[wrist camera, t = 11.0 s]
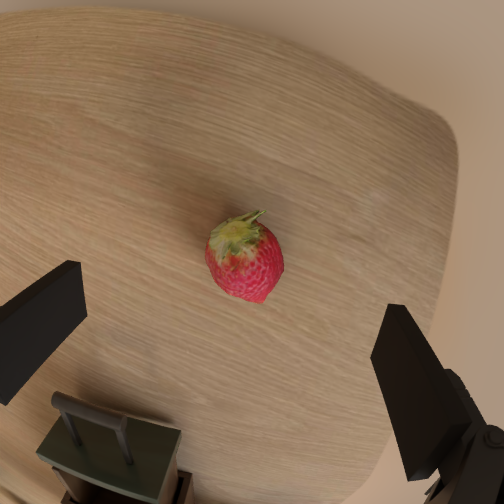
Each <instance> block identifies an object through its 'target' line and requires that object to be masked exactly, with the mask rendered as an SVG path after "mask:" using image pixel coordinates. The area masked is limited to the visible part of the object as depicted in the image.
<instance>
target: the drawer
mask: <svg viewBox="0 0 504 504" xmlns="http://www.w3.org/2000/svg"><path fill="white" fill-rule="evenodd" d="M51 404H52V406H53V407H54V408H56V409H59V411H60V413H61V416H60V417H59V418H58V420H57V421H56V423H55V424H54V426H53V427H52V428H51V430H50V431H49V433H48V434H47V436H46V437H45V439H44V440H43V442H42V443H41V445H40V446H39V448H38V449H37V451H36V454H37V455H38V457H39V458H40V459H41V460H43V461H45V462H47V463H48V464H50V465H53V467H52V470H53V471H54V473H55V474H56V476H57V477H58V479H59V480H60V482H61V483H62V484H63V486H64V487H65V489H66V490H67V491H68V493H69V494H70V496H71V497H72V498H73V500H74V501H75V502H76V504H177V500H178V497H179V493H180V485H179V478H178V471H177V464H176V453H177V450H178V447H179V444H180V441H181V430H177V429H173V428H168V427H164V426H160V425H156V424H152V423H148V422H145V421H141V420H137V419H134V418H130V417H127V415H125V414H122V413H119V412H116V411H112V410H109V409H106V408H103V407H100V406H97V405H94V404H91V403H88V402H85V401H83V400H80V399H77V398H75V397H72V396H69V395H67V394H64V393H62V392H59V391H56V392H54V394H53V395H52V398H51Z"/></svg>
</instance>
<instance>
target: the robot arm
mask: <svg viewBox="0 0 504 504" xmlns="http://www.w3.org/2000/svg"><path fill="white" fill-rule="evenodd" d="M86 317H87V310H86V303H85V296H84V288H83V280H82V271H81V262H76V261H71V260H67V261H65V262H64V263H62V264H61V265H59V266H58V267H56V268H55V269H53V270H52V271H50V272H49V273H47V274H46V275H44V276H43V277H42V278H40V279H39V280H37V281H36V282H34V283H33V284H32V285H30V286H29V287H27V288H26V289H25V290H23V291H22V292H20V293H19V294H18V295H16V296H15V297H14V298H12V299H11V300H9V301H8V302H7V303H5V304H4V305H3V306H0V403H1V404H3V405H5V406H6V405H7V404H8V403H9V402H10V401H11V399H12V398H13V397H14V396H15V395H16V393H17V392H18V391H19V390H20V389H21V388H22V387H23V385H24V384H25V383H26V382H27V381H28V380H29V378H30V377H31V376H32V375H33V374H34V373H35V372H36V371H37V369H38V368H39V367H40V366H41V365H42V364H43V363H44V362H45V361H46V359H47V358H48V357H49V356H50V355H51V354H52V353H53V352H54V351H55V350H56V349H57V347H58V346H59V345H60V344H61V343H62V342H63V341H64V340H65V339H66V338H67V337H68V336H69V335H70V334H71V333H72V332H73V330H74V329H75V328H76V327H77V326H78V325H79V324H80V323H81V322H82V321H83V320H84V319H85V318H86ZM370 359H371V361H372V364H373V367H374V370H375V373H376V376H377V379H378V382H379V385H380V388H381V391H382V394H383V398H384V401H385V404H386V407H387V410H388V414H389V417H390V420H391V423H392V427H393V430H394V433H395V437H396V440H397V444H398V447H399V451H400V454H401V458H402V462H403V465H404V469H405V473H406V476H407V480H408V481H416V480H422V479H428V478H429V477H430V476H431V475H432V474H433V473H434V471H435V470H436V469H437V468H438V470H439V474H440V477H439V479H438V480H437V481H436V482H435V483H434V484H433V485H432V486H431V487H430V488H429V489H428V490H427V492H426V493H425V495H428V494H429V495H428V497H427V499H426V501H425V502H424V504H504V431H503V430H502V429H500V428H499V427H497V426H494V425H487V424H486V422H485V421H484V419H483V417H482V415H481V413H480V411H479V410H478V408H477V406H476V404H475V403H474V401H473V399H472V398H471V397H470V394H469V392H468V390H467V389H465V388H466V387H465V385H464V384H463V382H462V380H461V379H460V377H459V376H458V375H457V374H455V373H454V372H453V371H452V370H451V369H444V368H443V367H442V365H441V363H440V361H439V360H438V358H437V356H436V355H435V353H434V351H433V350H432V348H431V346H430V345H429V343H428V341H427V340H426V338H425V337H424V335H423V333H422V332H421V330H420V329H419V327H418V325H417V324H416V322H415V321H414V319H413V318H412V316H411V314H410V313H409V311H408V310H407V308H406V307H405V305H398V304H388V306H387V309H386V312H385V315H384V319H383V322H382V325H381V328H380V331H379V334H378V337H377V340H376V343H375V345H374V348H373V351H372V354H371V357H370Z"/></svg>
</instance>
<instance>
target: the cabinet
mask: <svg viewBox="0 0 504 504" xmlns="http://www.w3.org/2000/svg"><path fill="white" fill-rule="evenodd" d="M178 478H179V485H180V493H179V497H178V500H177V504H195V501H194V489H193V475H192V474H190V473H186V472H181V471H178ZM61 504H76V502H75V501H74V500H73V498H72V497H71V496H70V494H69V493H68V491H66V493H65V495H64V497H63V499H62V501H61Z"/></svg>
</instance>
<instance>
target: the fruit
mask: <svg viewBox="0 0 504 504" xmlns="http://www.w3.org/2000/svg"><path fill="white" fill-rule="evenodd" d="M258 212H259V210H255V211H253V212H249V213H247V214H245V215H241V216H239V217H230V218H229V219H227V220H226V221H224V222H222V223H221V224H219V225H218V226H217V227H216V228H215V229H214V230H212V231H211V232H210V234H211V235H210V238H209V240H208V242H207V246H206V252H205V259H206V263H207V265H208V267H209V269H210V272H211V274H212V276H213V278H214V280H215V282H216V283H217V285H218V286H219V287H221V288H222V289H223V290H224V291H225V292H226V293H227V294H229V295H232V296H236V297H240V298H242V299H244V300H246V301H250V302H254V303H258V304H260V303H263V302H264V300H265V298H266V296H267V295H268V293H270V292H271V291H272V289H273V288H274V287H275V285H276V284H277V282H278V280H279V278H280V276H281V274H282V273H283V271H284V263H283V255H282V252H281V249H280V246H279V244H278V241H277V239H276V237H275V236H274V235H273V233H272V232H271V231H270V230H269V229H268V228H266V227H265V226H264V225H262V224H261V223H258V222H257V221H256V218H257V217H259V216H260V215H261V214H262V213H264V212H266V210H265V211H262V212H260V213H259V214H257V213H258ZM256 214H257V215H256Z"/></svg>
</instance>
